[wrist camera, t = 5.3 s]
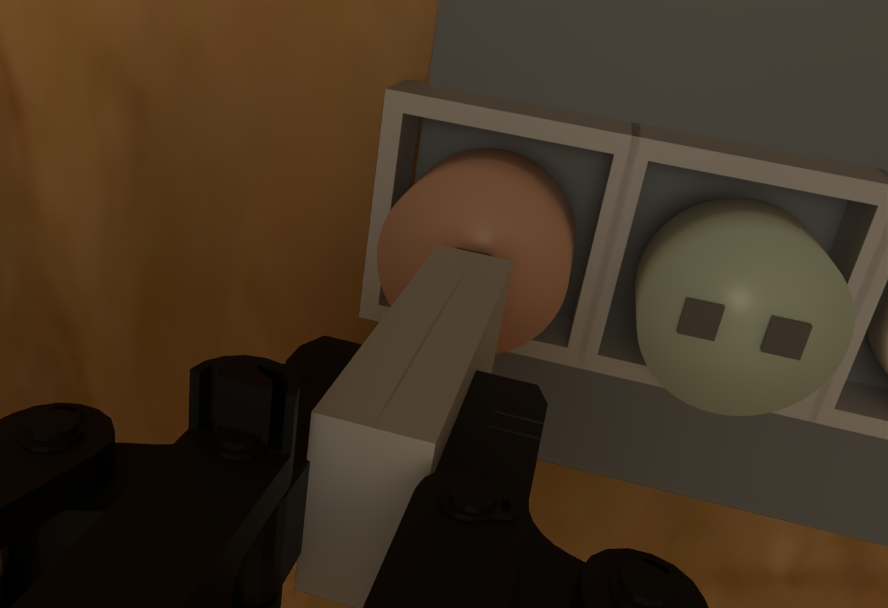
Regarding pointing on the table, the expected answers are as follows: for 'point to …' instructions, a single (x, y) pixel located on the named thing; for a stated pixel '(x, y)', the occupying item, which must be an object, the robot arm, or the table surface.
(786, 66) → the panel
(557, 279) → the terracotta button
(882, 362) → the cream button
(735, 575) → the table surface
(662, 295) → the sage button
